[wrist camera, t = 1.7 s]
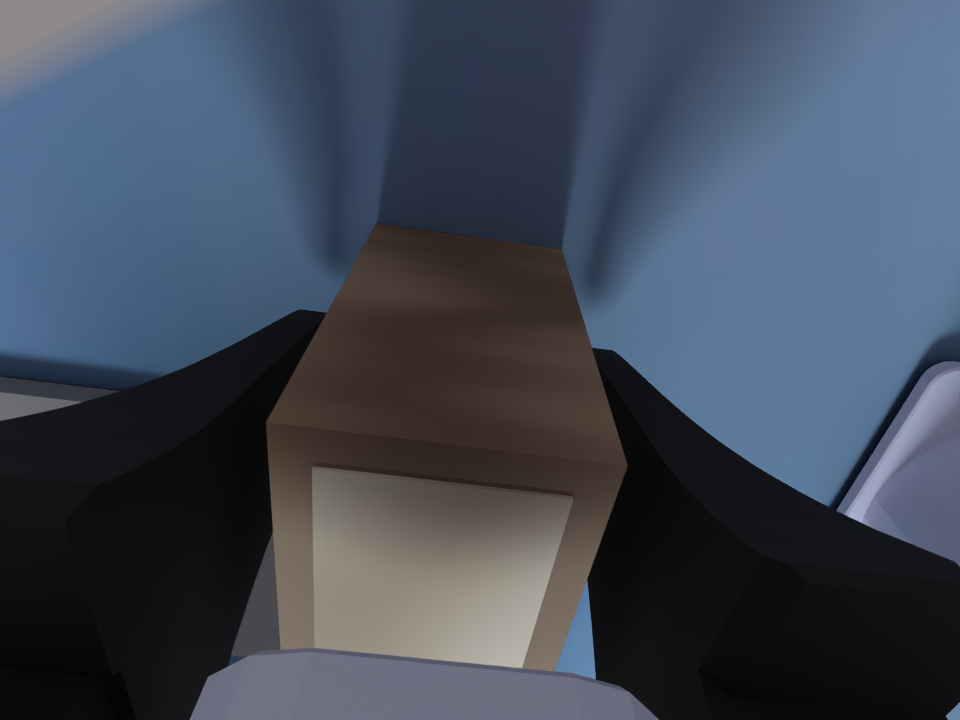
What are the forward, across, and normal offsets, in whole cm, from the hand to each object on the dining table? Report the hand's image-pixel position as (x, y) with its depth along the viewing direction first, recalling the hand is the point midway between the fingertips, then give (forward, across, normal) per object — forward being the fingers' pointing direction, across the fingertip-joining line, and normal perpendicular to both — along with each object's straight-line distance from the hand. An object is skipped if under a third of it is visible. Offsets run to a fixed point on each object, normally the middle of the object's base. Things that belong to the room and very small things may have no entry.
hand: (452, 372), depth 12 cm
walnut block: (+2, 0, 0) cm, 2 cm away
